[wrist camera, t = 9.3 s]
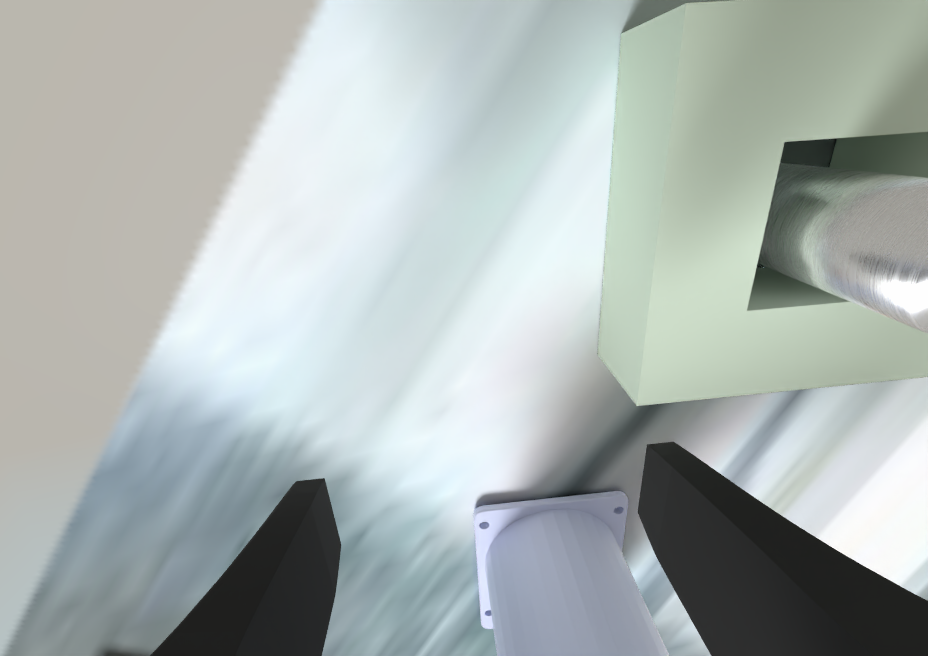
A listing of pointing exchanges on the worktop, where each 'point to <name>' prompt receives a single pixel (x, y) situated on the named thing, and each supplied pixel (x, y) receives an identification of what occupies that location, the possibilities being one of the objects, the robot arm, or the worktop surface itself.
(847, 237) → the long pin
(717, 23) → the hole block
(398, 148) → the worktop surface
